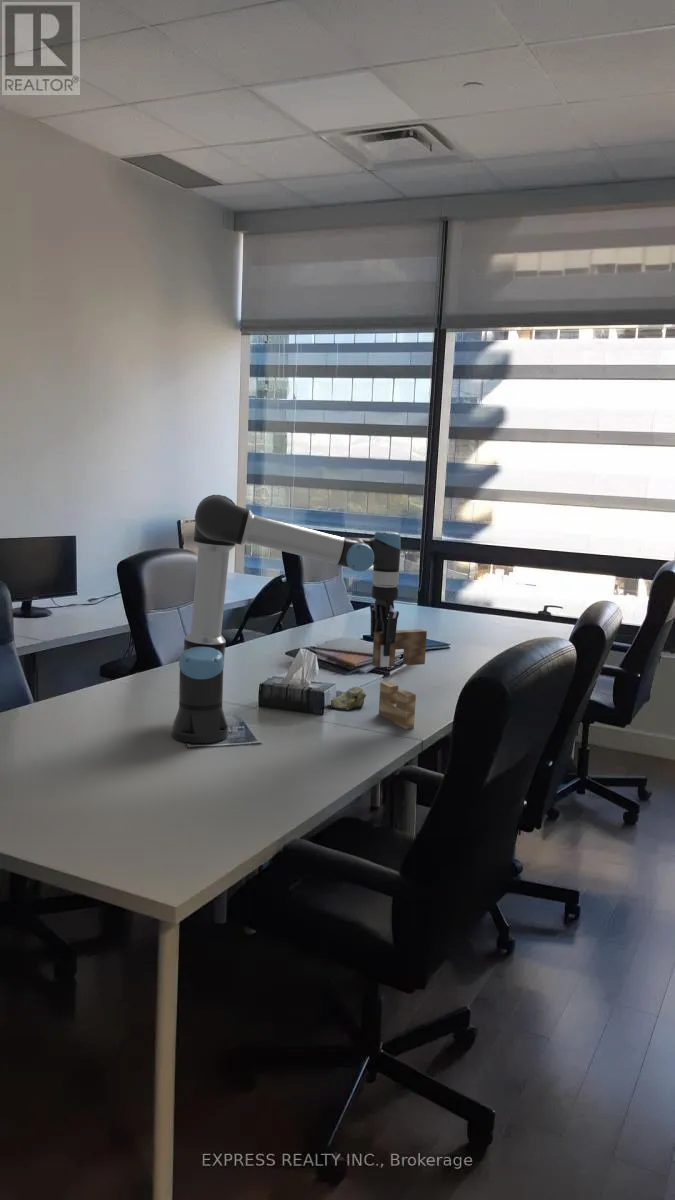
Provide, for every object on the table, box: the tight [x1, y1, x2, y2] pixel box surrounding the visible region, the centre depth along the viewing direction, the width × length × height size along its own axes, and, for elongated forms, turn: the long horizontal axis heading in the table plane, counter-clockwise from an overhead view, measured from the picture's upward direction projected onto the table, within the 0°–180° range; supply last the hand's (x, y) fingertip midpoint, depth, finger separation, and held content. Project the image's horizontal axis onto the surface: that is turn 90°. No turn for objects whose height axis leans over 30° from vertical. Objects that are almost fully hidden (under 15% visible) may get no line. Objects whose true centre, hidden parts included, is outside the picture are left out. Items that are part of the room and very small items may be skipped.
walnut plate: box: [372, 628, 428, 668], centre depth 265 cm, size 16×3×10 cm, turn 116°
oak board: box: [378, 680, 417, 730], centre depth 268 cm, size 3×16×10 cm, turn 26°
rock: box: [330, 686, 367, 711], centre depth 281 cm, size 11×6×10 cm
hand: (381, 664), depth 263 cm, fingers closed on walnut plate, 3 cm apart
